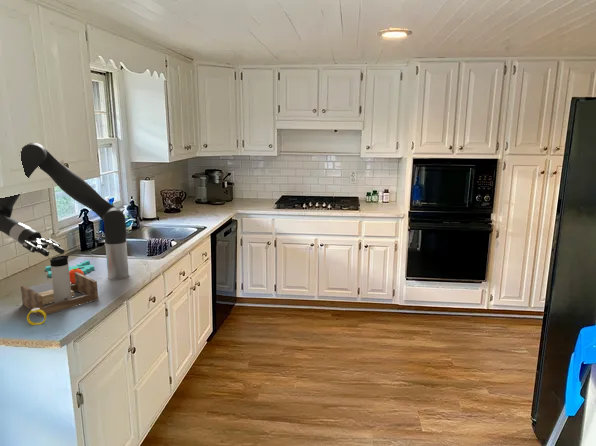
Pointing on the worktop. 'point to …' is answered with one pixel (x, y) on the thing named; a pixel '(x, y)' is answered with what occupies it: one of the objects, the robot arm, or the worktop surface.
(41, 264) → the worktop surface
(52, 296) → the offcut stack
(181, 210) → the worktop surface
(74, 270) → the clementine
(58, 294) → the travel mug
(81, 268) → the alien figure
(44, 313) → the watch
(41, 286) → the mat
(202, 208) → the worktop surface
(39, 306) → the walnut rack
